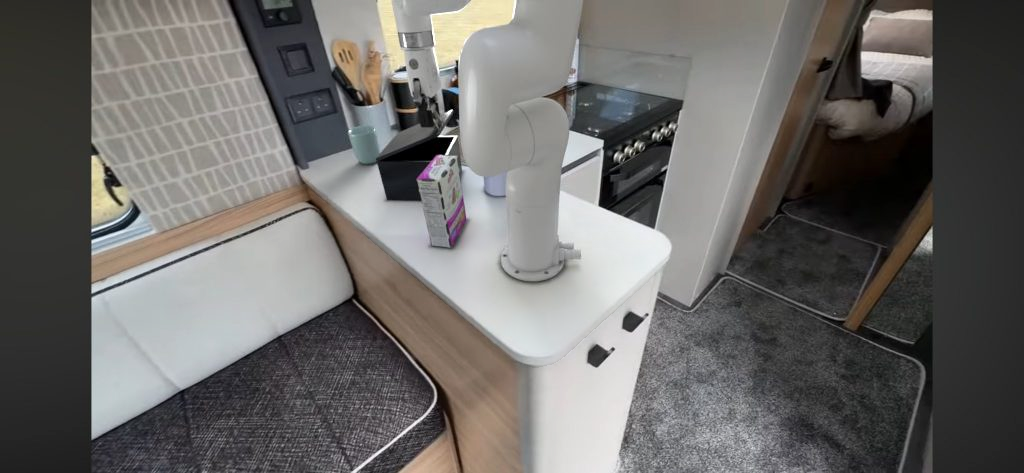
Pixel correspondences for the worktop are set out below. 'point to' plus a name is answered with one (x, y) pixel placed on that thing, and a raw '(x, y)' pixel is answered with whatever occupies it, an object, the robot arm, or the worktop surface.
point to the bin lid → (416, 134)
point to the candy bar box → (442, 200)
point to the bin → (413, 167)
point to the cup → (364, 143)
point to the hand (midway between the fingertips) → (430, 122)
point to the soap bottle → (496, 184)
